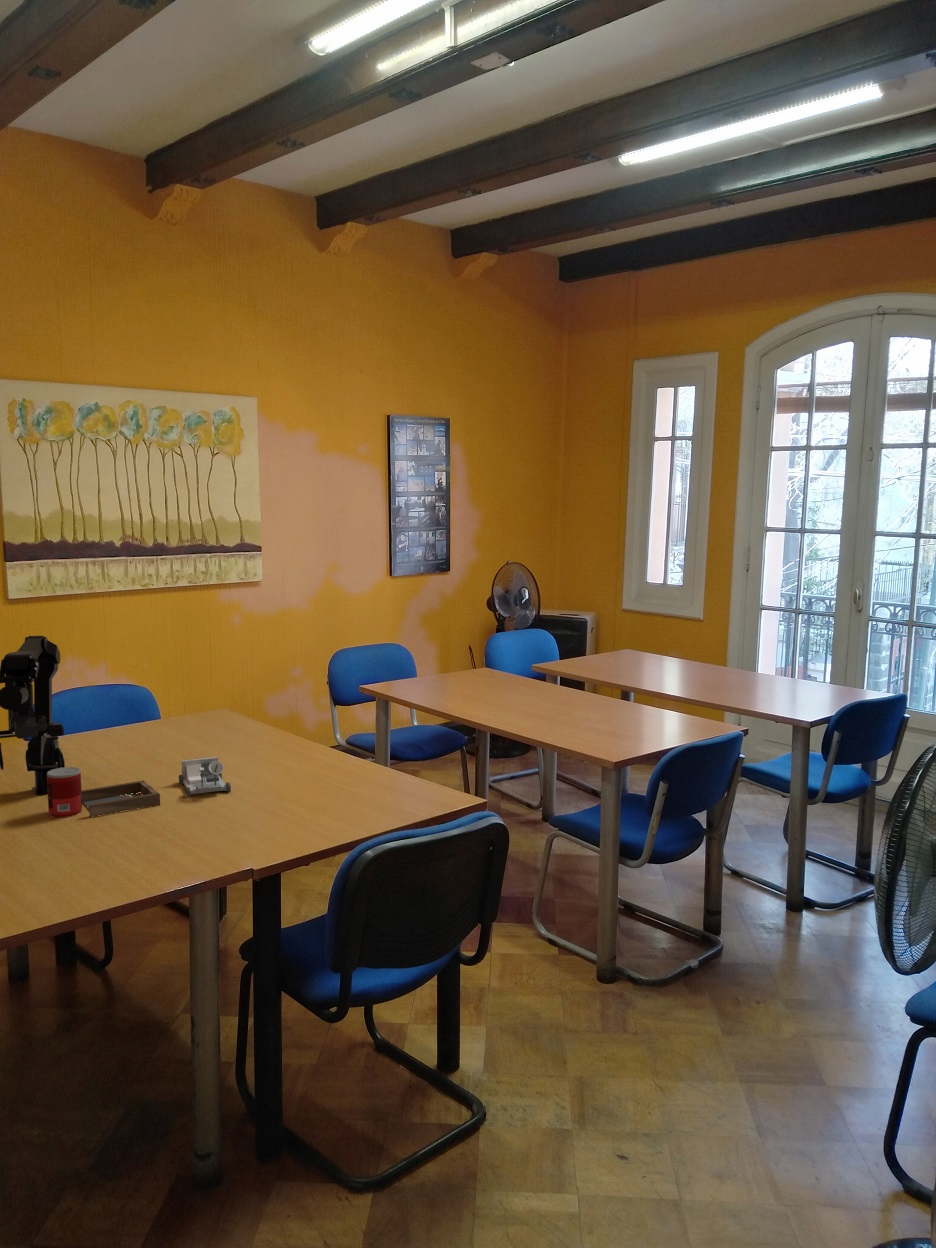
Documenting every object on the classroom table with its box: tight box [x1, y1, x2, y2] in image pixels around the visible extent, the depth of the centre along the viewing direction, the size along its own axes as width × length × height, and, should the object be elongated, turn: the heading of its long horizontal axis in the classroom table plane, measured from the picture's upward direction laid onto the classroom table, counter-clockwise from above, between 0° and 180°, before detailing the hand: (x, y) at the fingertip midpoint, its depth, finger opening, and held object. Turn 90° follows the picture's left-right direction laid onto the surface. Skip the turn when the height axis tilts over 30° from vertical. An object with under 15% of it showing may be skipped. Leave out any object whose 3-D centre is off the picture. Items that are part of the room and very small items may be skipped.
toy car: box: [178, 756, 232, 798], centre depth 262 cm, size 18×10×12 cm
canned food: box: [47, 766, 83, 818], centre depth 241 cm, size 8×8×11 cm
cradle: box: [81, 779, 161, 818], centre depth 250 cm, size 14×17×3 cm
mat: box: [82, 793, 141, 811], centre depth 249 cm, size 11×14×1 cm
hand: (22, 767), depth 235 cm, fingers open, 9 cm apart
